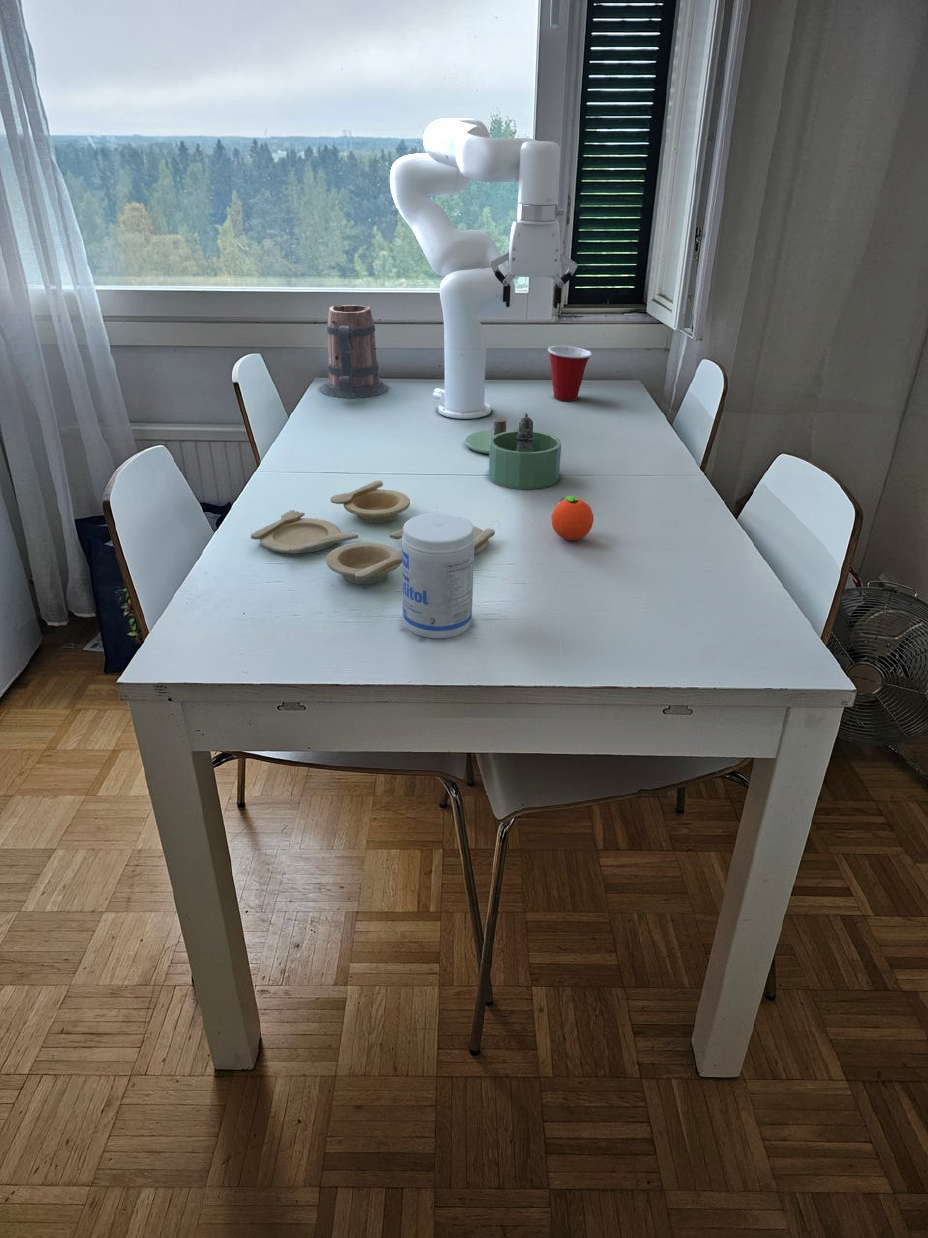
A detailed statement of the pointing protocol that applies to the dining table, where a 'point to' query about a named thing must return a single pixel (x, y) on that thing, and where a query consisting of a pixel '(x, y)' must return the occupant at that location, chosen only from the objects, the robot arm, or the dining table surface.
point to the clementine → (572, 518)
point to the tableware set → (350, 535)
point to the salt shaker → (525, 435)
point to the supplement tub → (437, 574)
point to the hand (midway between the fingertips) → (531, 306)
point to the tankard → (352, 353)
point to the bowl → (524, 461)
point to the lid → (486, 436)
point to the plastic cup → (567, 370)
